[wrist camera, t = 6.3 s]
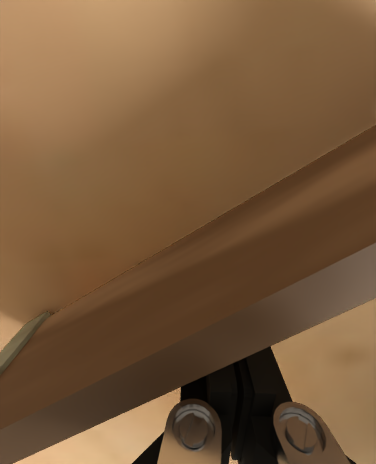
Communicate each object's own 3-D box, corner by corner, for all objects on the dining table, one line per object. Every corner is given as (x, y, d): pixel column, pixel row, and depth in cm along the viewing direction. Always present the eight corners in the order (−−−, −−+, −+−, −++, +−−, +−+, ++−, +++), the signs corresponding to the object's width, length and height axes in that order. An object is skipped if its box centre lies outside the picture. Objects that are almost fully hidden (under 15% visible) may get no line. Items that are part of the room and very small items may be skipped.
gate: (408, 140, 10) (818, 134, 3) (46, 343, 13) (-81, 524, 7) (397, 103, 9) (849, 15, 3) (25, 324, 13) (-132, 499, 7)
